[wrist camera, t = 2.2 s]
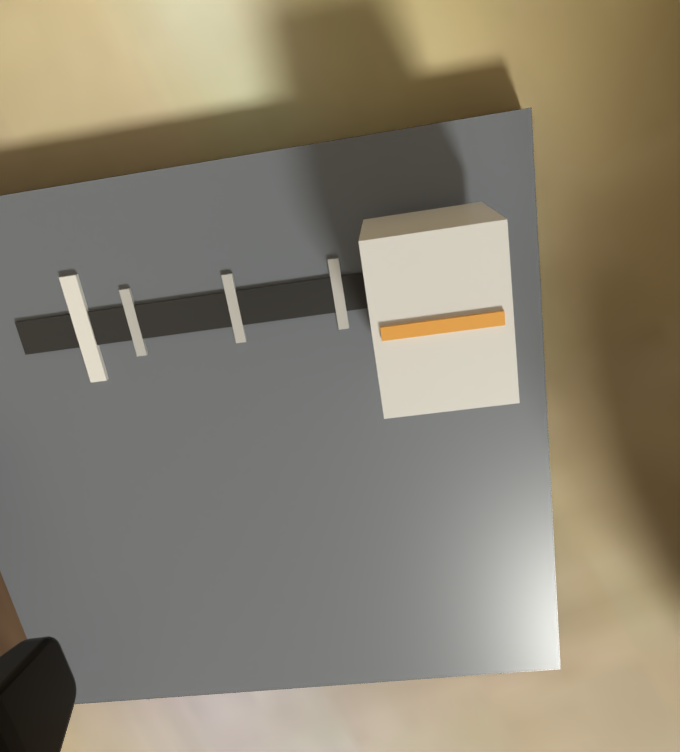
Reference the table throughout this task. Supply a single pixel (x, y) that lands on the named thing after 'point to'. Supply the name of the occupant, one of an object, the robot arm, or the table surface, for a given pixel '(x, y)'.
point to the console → (264, 429)
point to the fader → (441, 309)
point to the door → (8, 621)
